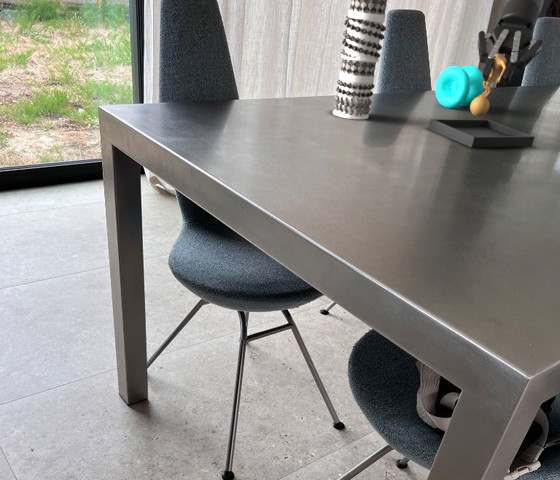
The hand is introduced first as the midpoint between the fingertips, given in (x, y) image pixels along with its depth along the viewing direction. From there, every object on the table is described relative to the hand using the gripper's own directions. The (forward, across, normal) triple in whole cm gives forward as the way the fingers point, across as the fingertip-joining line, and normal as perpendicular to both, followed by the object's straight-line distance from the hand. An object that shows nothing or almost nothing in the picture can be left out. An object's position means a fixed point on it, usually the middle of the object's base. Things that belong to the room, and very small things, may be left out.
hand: (495, 79), depth 119 cm
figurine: (+4, -1, +7) cm, 8 cm away
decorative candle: (+10, -30, +7) cm, 32 cm away
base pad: (+7, 0, +10) cm, 12 cm away
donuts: (-16, -12, +34) cm, 40 cm away
